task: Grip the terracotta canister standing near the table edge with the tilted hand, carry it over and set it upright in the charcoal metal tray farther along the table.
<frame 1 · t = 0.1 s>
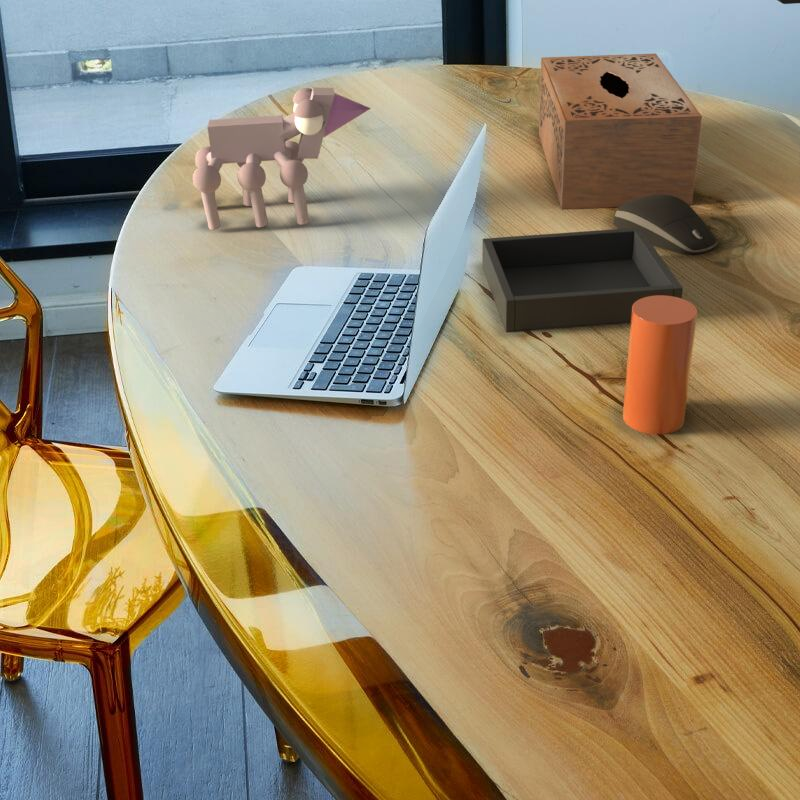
tissue box cover: (608, 168, 131), on the table
canister: (652, 425, 83), on the table
computer mouse: (663, 240, 112), on the table
tray: (575, 298, 101), on the table
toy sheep: (288, 215, 122), on the table
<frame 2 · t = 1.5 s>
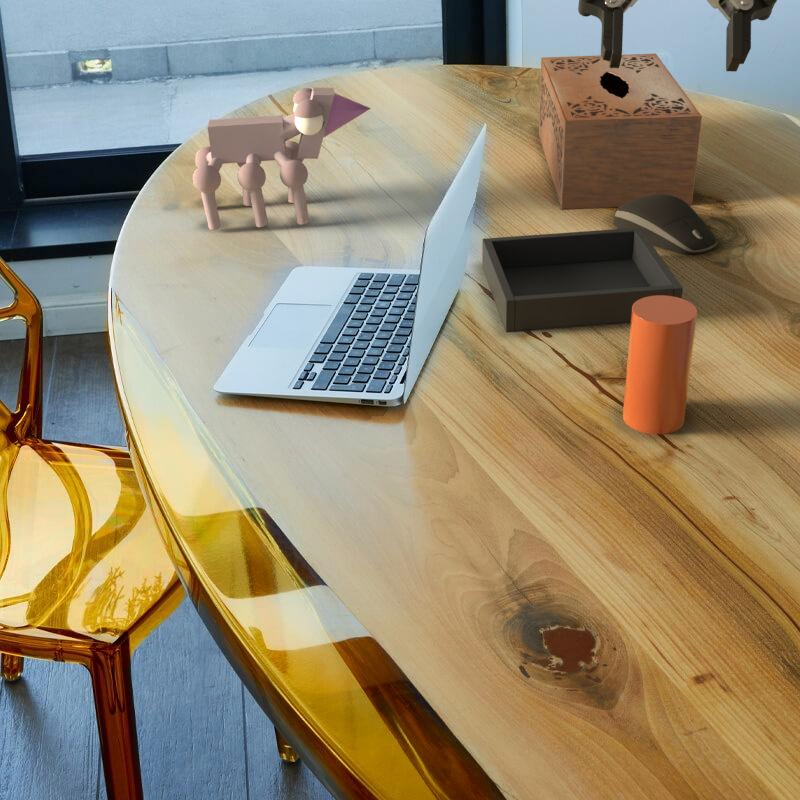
hand: (674, 64, 79), 24 cm above the table, tool tilted 45°, fingers open, 8 cm apart
nothing on the table moved.
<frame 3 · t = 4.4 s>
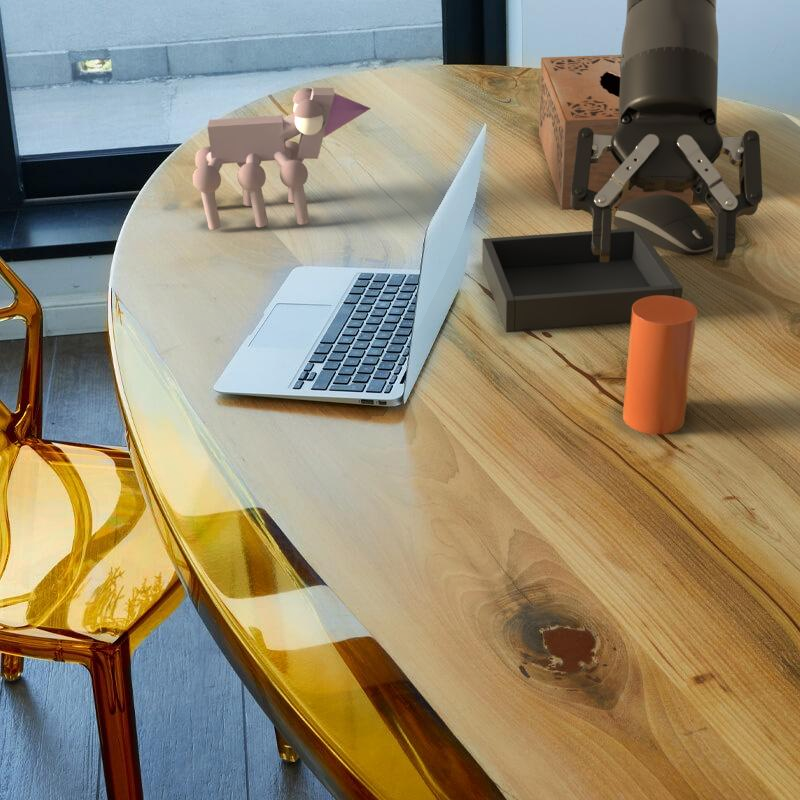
hand: (661, 261, 82), 11 cm above the table, tool tilted 45°, fingers open, 8 cm apart
nothing on the table moved.
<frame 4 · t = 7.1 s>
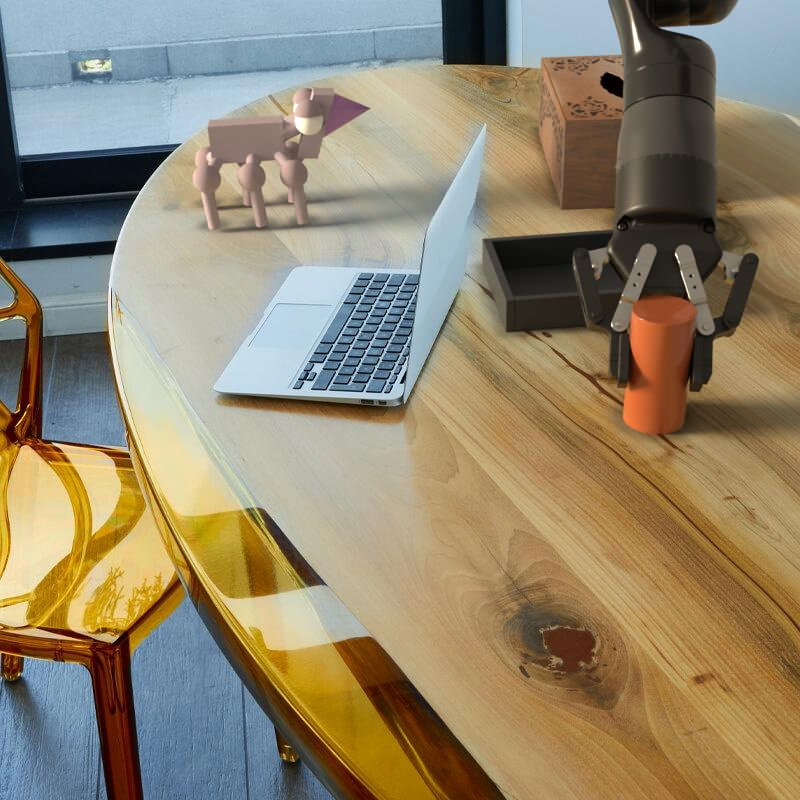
hand: (659, 386, 79), 5 cm above the table, tool tilted 45°, fingers closed on canister, 4 cm apart
canister: (652, 425, 83), on the table, touching gripper
everything else where it was.
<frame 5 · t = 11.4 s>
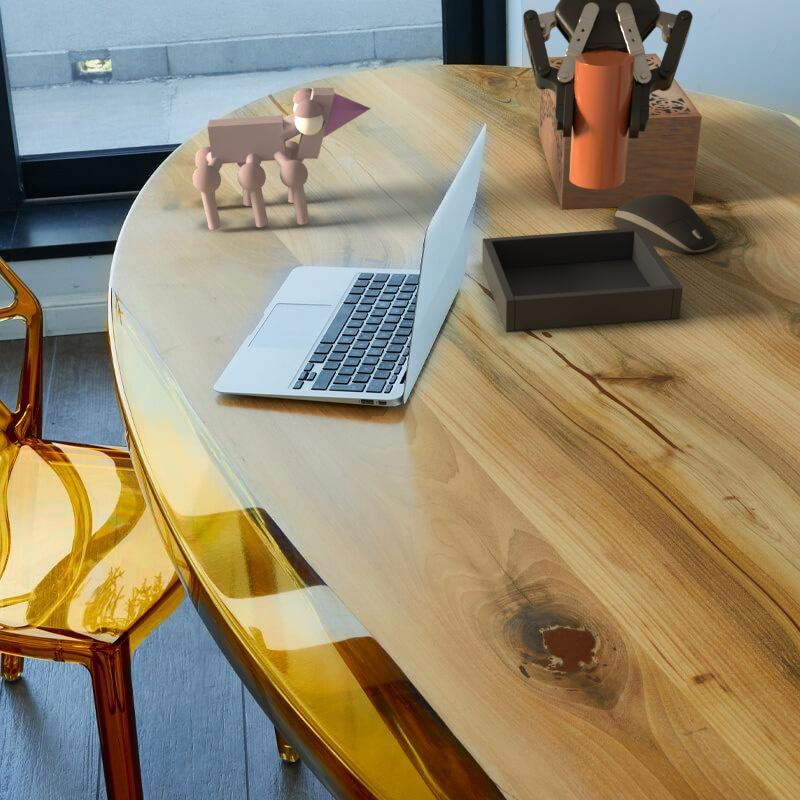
hand: (601, 132, 86), 18 cm above the table, tool tilted 45°, fingers closed on canister, 4 cm apart
canister: (597, 179, 90), point 14 cm above the table, touching gripper
everything else where it was.
when the fingers open (5 cm above the table, at t = 15.9 s): canister stays where it is, resting on tray.
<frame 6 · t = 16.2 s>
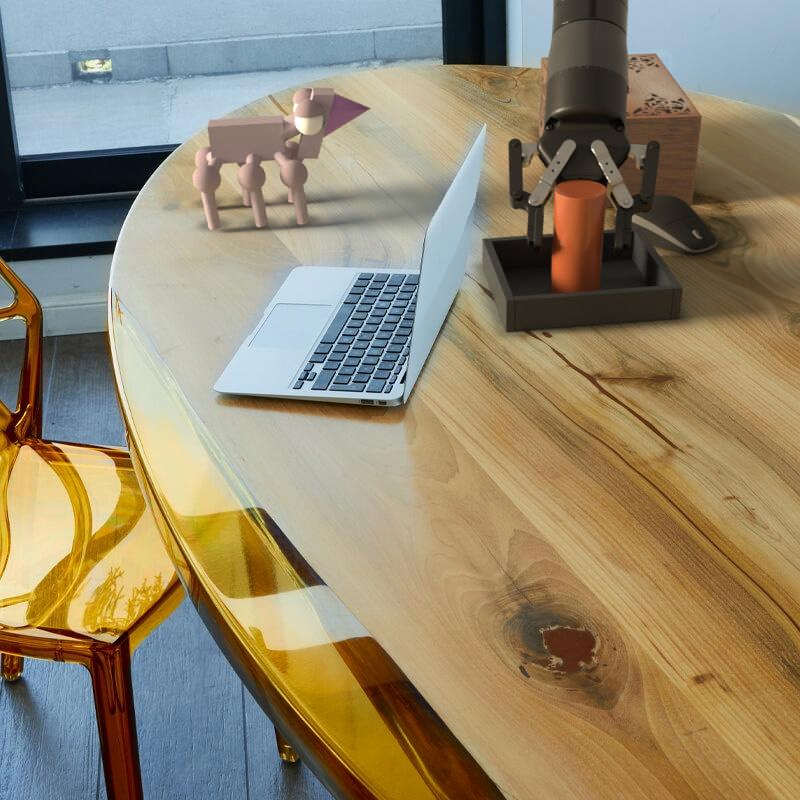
hand: (578, 251, 97), 6 cm above the table, tool tilted 45°, fingers open, 6 cm apart
canister: (575, 290, 101), point 1 cm above the table, touching tray
everything else where it was.
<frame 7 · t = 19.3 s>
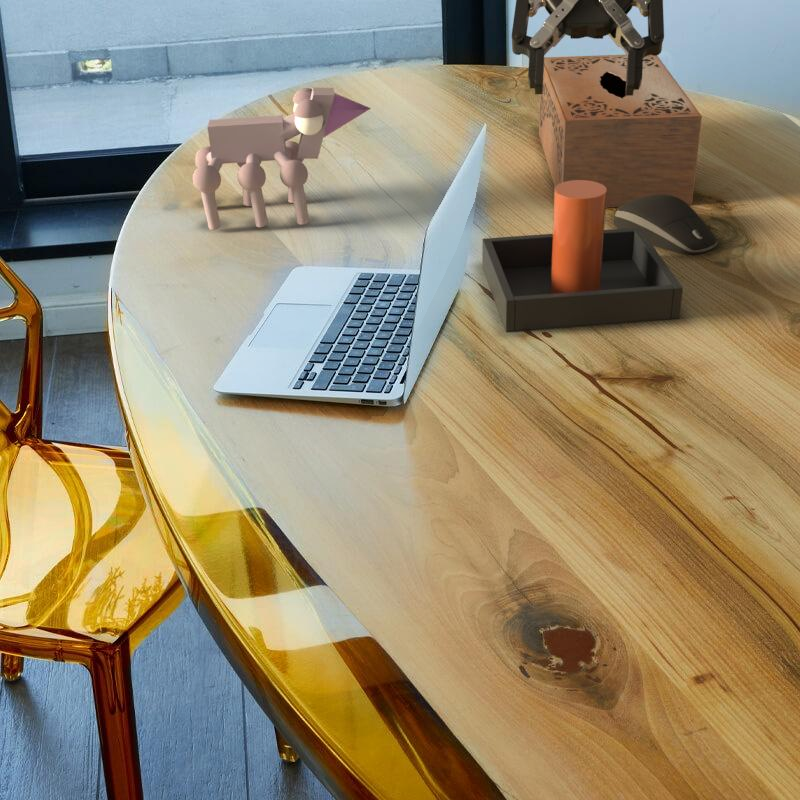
hand: (584, 91, 102), 16 cm above the table, tool tilted 45°, fingers open, 8 cm apart
nothing on the table moved.
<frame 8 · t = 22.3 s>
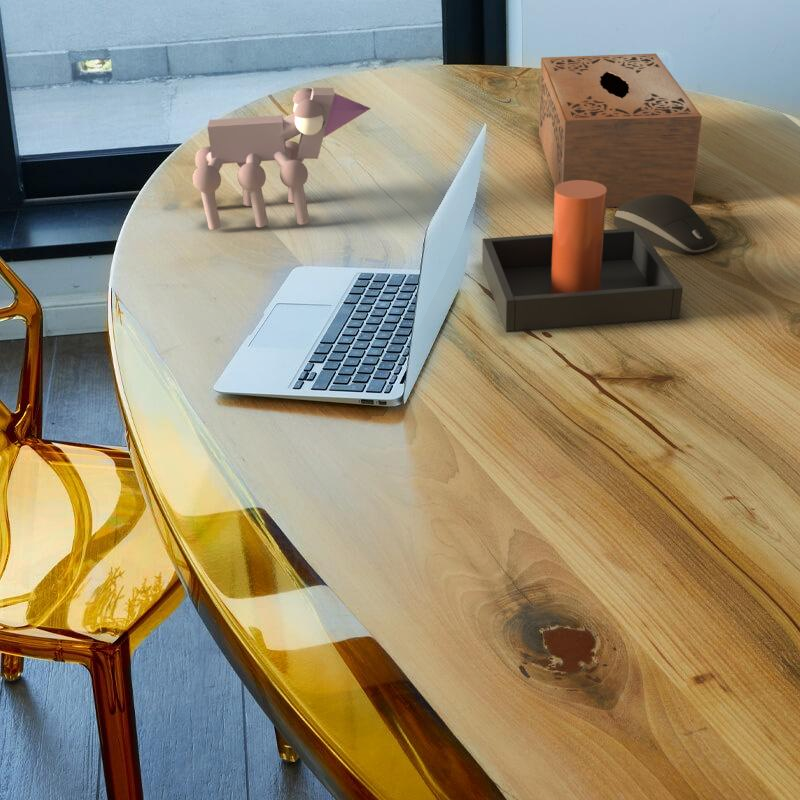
nothing on the table moved.
at the end: canister inside the target area in the tray (0.1 cm from its centre), point 0.8 cm above the tray's base; canister tilted 0°; the gripper is holding nothing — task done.
